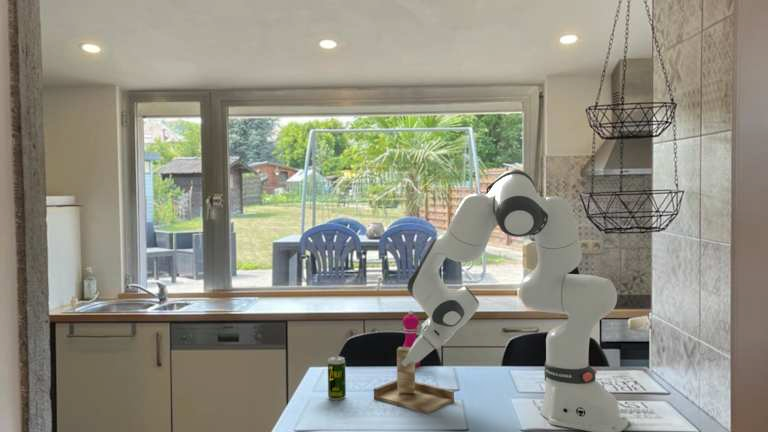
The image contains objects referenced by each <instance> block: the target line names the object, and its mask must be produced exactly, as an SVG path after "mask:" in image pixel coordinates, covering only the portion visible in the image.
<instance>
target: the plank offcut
mask: <svg viewBox="0 0 768 432" xmlns="http://www.w3.org/2000/svg"><path fill="white" fill-rule="evenodd" d="M410 349H411V347H403V346H398V347H397V349H396V376H397V377H396V380H397V392H400V393H414V391H415V382H416V367H415V364H414V363H413V362H412V361H411V362H410V363H409V364H408V365H407V366H405V367H404V366H403V365H402V364H401V362H402V360H404V358H406V357H407V354H408V352H409V350H410Z"/></svg>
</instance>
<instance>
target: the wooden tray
mask: <svg viewBox="0 0 768 432" xmlns="http://www.w3.org/2000/svg"><path fill="white" fill-rule="evenodd" d="M374 399H375V400H379V401H382V402H385V403H389V404H392V405H396V406H398V405H399V406H400V407H403V408H406V409H409V410H411V411H412V410H413V411H417V412H419V413H424V414H428V415H429V414H430V413H432V412H434V411H437V410H438V409H441V408H443V407H445V406H447V405H449V404H451V403H453V402H455V391H454V390H451V389H447V388H443V387H439V386H436V385H435V386H434V385H431V384H427V383H422V382H418V381H415V391H414V393H400V392H397V379H395V380H393V381H390V382H388V383H387V382H386V383H385V384H383V385H380V386H376V387H375V388H373V400H374ZM399 406H398V407H399Z"/></svg>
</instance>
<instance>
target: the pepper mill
mask: <svg viewBox="0 0 768 432" xmlns="http://www.w3.org/2000/svg"><path fill="white" fill-rule="evenodd" d="M407 313H408V314H406V315H405V316H403V319H402V325H403V326H404V328H403V330H404V331H403V332H404V333H405V339H404V340H405V341H404V343H403V346H402V347H412V345H413V343H414V341H415V340H416V338H417V333H418V330H419V329H418V326H419V324H420V320H419V317H418V316H417V315H415V314H414V311H413V310H409V311H408V312H407ZM420 365H421V360H420V361H419V362H418V363H416V364H415V368H416V367H419V366H420Z"/></svg>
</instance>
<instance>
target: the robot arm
mask: <svg viewBox="0 0 768 432" xmlns="http://www.w3.org/2000/svg"><path fill="white" fill-rule="evenodd" d="M485 193H486V194H480V193H472V194H468V195H466V196H465V197H464V198H463V199H462V201H461V202H460V203H459V205H458V206H457V208H456V210H455V212H454V214H453V216H452V217H451V220H450V223H449V225H448V228H447V230H443V231H441V232H439V233H438V234H437V235H436V236H435V238H434V239H433V240H432V242H431V244H430V245H429V247H428V248H427V250H426V252H425V254H424V256H423V258H422V260H421V262H420V263H419V265H418V267H417V268H416V269H415V270H414V272H413V273H412V274H411V275H410V277H409V278H408V282H407V292H408V293H409V294H410V296H412V298H413V299H414V300H415V301H416V302H417V304H419V306H420V307H421V309H422V310H423V311H424V313H425V314H426V315H427V316H428V317H427V319H426V320H424V322H423V323H421V328H422V329H421V330H420V334H419V335H418V336H416V340H415V341H414V343H413V345H412V347H411V349H410V350H409V352H408V354H407V357H406V358H404V360H402V362H401V364H402V365H403V366H404V367H405V366H407V365H408V364H409V363H410V362H411V361H412V362H413V363H414V364H416V363H418V362H419V361H420V362H421V361H422V360H424V358H426V357H427V356H428V355H429V354H430V353H431V352H433V351H434V350H435V349H436V350H438V349H439V348H440V347H443V346H444V345H445V344H446V343H447V342H448V341H449V340H450V339H452V337H453V336H454V335H455V334H456V331H457V330H458V329H460V328H461V327H463V326H465V324H467V322H468V321H469V320H470V319H471V318H472V317H473V315H474V314H475V313H476V312H477V310H478V309H479V307H480V302H479V300H478V298H477V297H476V295H474V293H473V292H472V291H471V290H470V289H469V288H468V287H467V286H461V287H460V288H459V289H457V290H451V289H449V287H448V286H447V285H446V283H444V281H443V279H442V278H441V276H440V273H439V270H440V268H441V266H442V265H443V264H444V261H445V260H446V258H448V259H450V260H452V261H454V262H457V263H470V262H473V261H475V260H478V259H479V258H480V257H481V256H482V254H483V253H484V252H485V249H487V245H488V243H489V241H490V238H491V235H492V233H493V231H494V230H495V229H496V228H497V227H499V228H500V230H501V231H502V232H503V233H504V234H506V235H507V236H509V237H515V238H524V237H528V236H534V241H535V247H536V255H537V257H536V258H537V264H536V267H535V268H534V270H533V271H531V272H530V273H528V274H527V275H526V276H524V278H523V279H522V281H521V282H520V286H519V291H518V292H519V298H520V301H521V303H522V304H523V305H524V306H525V307H526V308H528V309H531V310H534V311H538V312H541V313H552V314H554V313H555V314H564V315H567V316H568V317H567V322H565V323H564V324H561V325H557V326H556V327H554V328H552V329H551V330H550V331H548V333H547V335H546V338H545V345H546V346H545V349H546V350H545V351H546V353H545V354H546V355H545V356H546V357H545V358H546V359H545V362H544V381H545V388H544V396H543V402H542V406H541V409H540V414H541V416H542V417H544V418H545V419H546V420H548V422H549V423H550V424H551V425H553V426H559V427H565V428H570V429H574V430H575V429H576V430H582V431H586V432H622V431H624V430H625V429H626V428H627V427H628V425H629V417H628V416H627V415H625V414H622V413H621V412H620V408H619V403H618V401H617V399H616V397H615V396H614V395H613V394H612V393H611V392H610V391H609V390H607V389H606V388H605V387H604V386H603V385H602V384H601V383H599V382H598V381H597V380H596V374H598V368H595V369H593V367H592V366H591V365H590V364H589V352H590V351H589V347H590V339H591V335H592V332H593V330H594V328H595V327H596V325H597V324H598V323H599V322H600V321H601V320H602V319H603V318H604V317H606V316H608V315H609V314H611V313H612V311H613V310H614V309H615V307H616V305H617V301H618V292H617V289H616V287H615V285H614V283H613V282H612V281H611V279H609V278H606V277H601V276H597V275H593V274H580V273H579V274H578V273H575V274H574V273H571V272H573V271H574V270H575V269H576V268H577V267H578V266H579V265H580V263H581V261H582V259H583V258H582V257H583V253H582V246H581V240H580V233H579V228H578V222H577V219H576V216H575V214H574V210H573V208H572V205H571V203H570V202H569V201H568V200H567V199H566V198H563V197H562V196H557V195H551V196H546V197H543V196H540V195H538V192H537V190H536V185H535V182H534V181H533V179H532V178H531V176H530V175H529V174H528V173H526V172H525V171H523V170H522V169H517V168H516V169H508V170H506V171H504V172H503V173H501V174H500V175H499V176H497V178H496V179H495V181H493V182H492V183H490V184H489V185H488V186H487V187H486V192H485Z"/></svg>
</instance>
